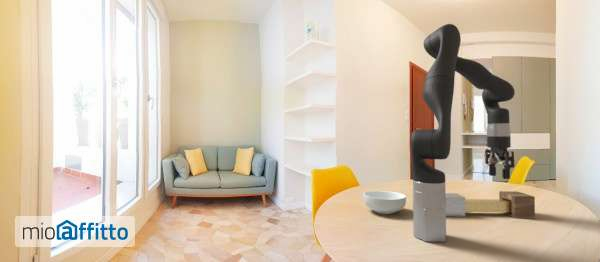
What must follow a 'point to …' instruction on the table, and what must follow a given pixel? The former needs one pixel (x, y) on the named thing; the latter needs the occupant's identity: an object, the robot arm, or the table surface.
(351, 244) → the table surface
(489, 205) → the rod
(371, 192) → the cereal bowl
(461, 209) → the sleeve
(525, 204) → the socket
